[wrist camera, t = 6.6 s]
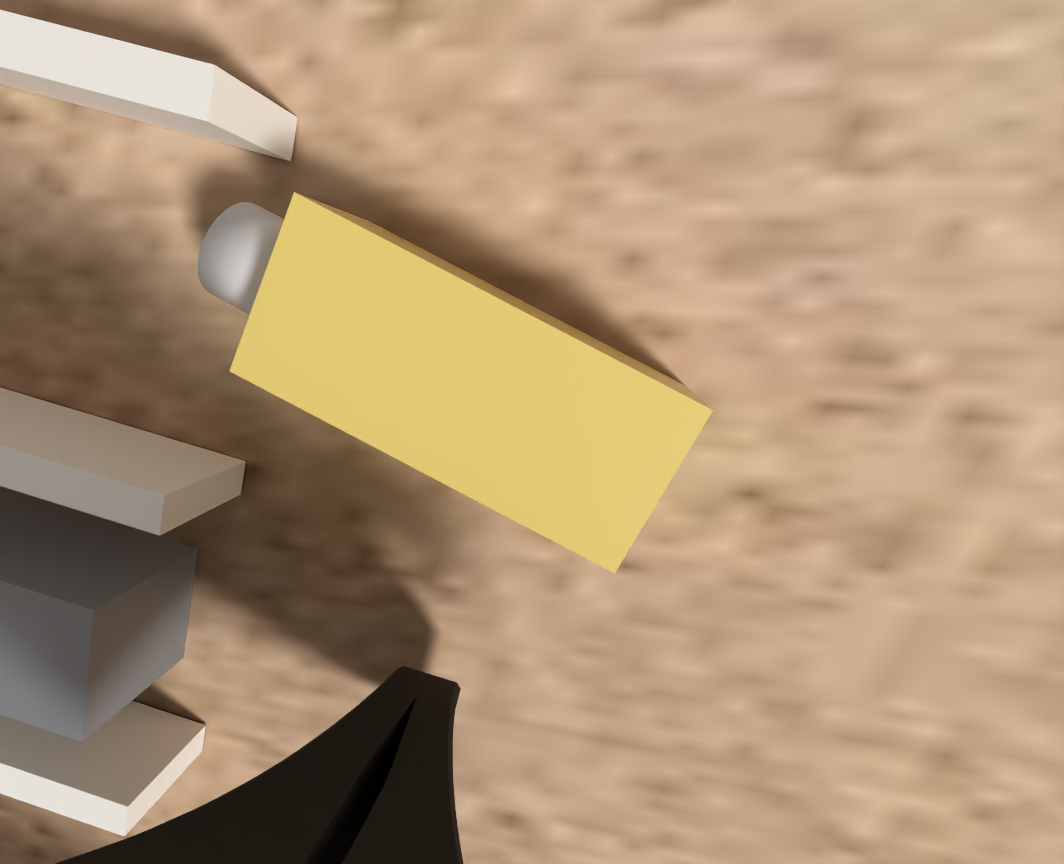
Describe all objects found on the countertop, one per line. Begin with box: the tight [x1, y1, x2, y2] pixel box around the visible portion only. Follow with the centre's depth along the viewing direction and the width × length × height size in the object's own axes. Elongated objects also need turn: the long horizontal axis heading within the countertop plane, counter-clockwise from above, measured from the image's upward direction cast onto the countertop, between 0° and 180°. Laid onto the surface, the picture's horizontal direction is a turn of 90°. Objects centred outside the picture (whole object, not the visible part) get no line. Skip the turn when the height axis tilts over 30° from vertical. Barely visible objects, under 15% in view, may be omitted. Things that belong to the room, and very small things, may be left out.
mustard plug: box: [198, 192, 713, 573], centre depth 10 cm, size 3×8×3 cm, turn 63°
